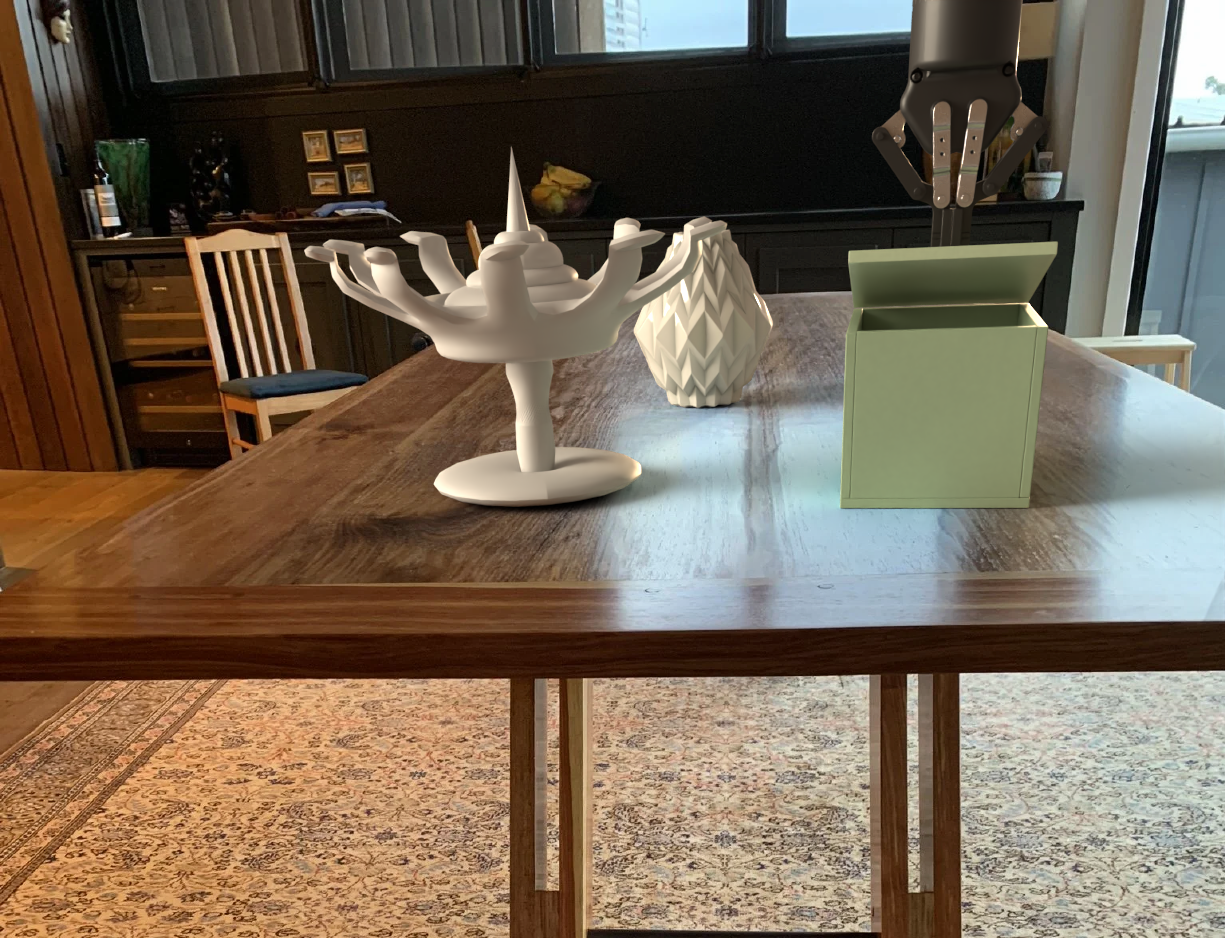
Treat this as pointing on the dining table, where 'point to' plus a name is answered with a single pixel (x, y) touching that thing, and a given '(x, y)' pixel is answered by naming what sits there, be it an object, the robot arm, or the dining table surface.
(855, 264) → the lid
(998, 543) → the dining table surface
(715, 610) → the dining table surface
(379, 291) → the candelabra
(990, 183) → the robot arm
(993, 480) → the chest
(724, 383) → the vase
